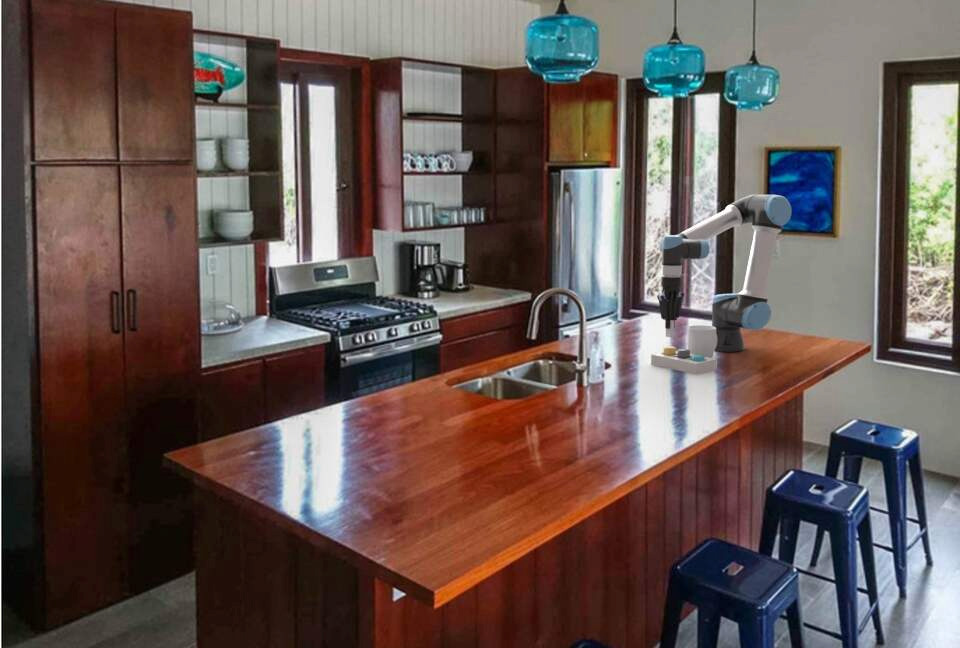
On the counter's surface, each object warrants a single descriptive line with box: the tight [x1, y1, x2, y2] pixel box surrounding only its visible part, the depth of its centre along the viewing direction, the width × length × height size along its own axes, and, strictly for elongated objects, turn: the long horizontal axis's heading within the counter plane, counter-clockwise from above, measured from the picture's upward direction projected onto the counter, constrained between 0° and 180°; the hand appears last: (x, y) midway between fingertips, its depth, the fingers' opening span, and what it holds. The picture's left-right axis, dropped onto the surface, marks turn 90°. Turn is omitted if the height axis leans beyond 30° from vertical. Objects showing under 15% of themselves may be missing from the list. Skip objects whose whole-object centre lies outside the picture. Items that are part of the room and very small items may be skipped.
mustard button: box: [662, 345, 677, 356], centre depth 345 cm, size 5×5×4 cm
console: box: [650, 350, 718, 375], centre depth 340 cm, size 12×22×4 cm, turn 36°
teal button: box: [691, 355, 705, 362], centre depth 334 cm, size 5×5×4 cm
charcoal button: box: [676, 348, 690, 359], centre depth 340 cm, size 5×5×4 cm
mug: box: [686, 324, 717, 358], centre depth 352 cm, size 15×11×13 cm
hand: (669, 336), depth 344 cm, fingers closed
